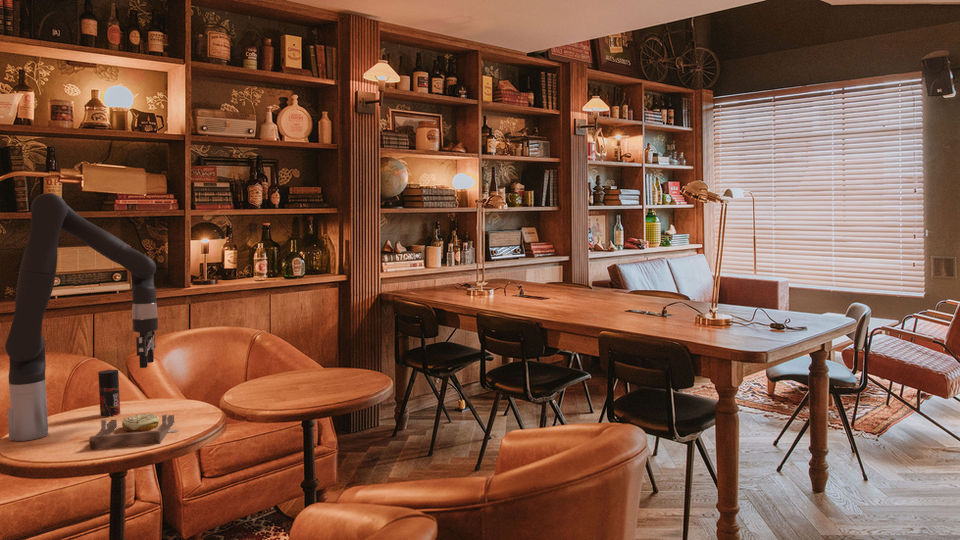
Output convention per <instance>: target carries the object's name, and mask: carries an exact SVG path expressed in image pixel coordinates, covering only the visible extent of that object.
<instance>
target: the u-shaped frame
mask: <svg viewBox="0 0 960 540" xmlns="http://www.w3.org/2000/svg"><path fill="white" fill-rule="evenodd" d="M117 423H118V422H117V419H110V421H108V422H107V418H102V419H101V420H100V427H101V428H100V430H99V431H98V432H97V433H96V434H95V435H91V436H90V437H89V450H90V449H91V450H100V449H99V448H102V449H113V448H121V447H124V448H125V447H133V446H146V445H156V444H157V445H159V444H161V443H162V441H163V439H164V438H165V437H166V435H167V434H169V432H171V433H178V432H177V430H178V429H171V428H172V427H173V425H174V424H173V423H175V415H174V414H171V415H170V414H169V415H168V413H165V414H162V415H161V425H160V426H159V429H158V430H147V431H141V432H134V431H133V432H124V433H123V432H122V433H113V432H114V429H115V428H116V427H118V424H117ZM171 426H172V427H171ZM170 427H171V428H170ZM116 429H117V428H116ZM116 429H115V430H116Z"/></svg>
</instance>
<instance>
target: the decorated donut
mask: <svg viewBox="0 0 960 540" xmlns="http://www.w3.org/2000/svg"><path fill="white" fill-rule="evenodd" d="M159 423H160V418H159V416H158V415H156V414H153V413H152V414H151V413H141V414H139V413H138V414H135V415H132V416H128V417H125V418H123V420H121V425H122V428H123V430H125V431H127V432H130V433H133V432H134V431H141V432H146V431H145V430H147V431H152V430H153V428H154V429H155V428H157V427H158V426H159ZM151 429H152V430H151ZM132 431H133V432H132Z"/></svg>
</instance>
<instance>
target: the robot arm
mask: <svg viewBox="0 0 960 540" xmlns="http://www.w3.org/2000/svg"><path fill="white" fill-rule="evenodd" d="M30 211H31V217H30V218H31V219H30V230H29V236H28V241H27V244H26V246H25V250H24V252H23V255H22V259H21V263H20V267H19V272H18V277H17V284H16V290H15V291H16V292H15V293H16V294H15V303H14V314H13V319H12V322H11V325H10V329H9V333H8V335H7V338H6V340H5V344H4V347H5V352H6V354H7V356H8V358H9V361H8V362H9V369H8V388H9V389H8V392H9V407H10V408H8V409H7V423H8V424H7V425H8V438H9V439H8V440H9V441H15V442H17V441H18V442H22V441H23V442H24V441H31V440H37V439H40V438H44V437H46V436H48V435H49V423H48V422H49V421H48V405H47V403H48V402H47V401H48V400H47V387H46V386H47V383H46V369H47V367H46V344H45V342H46V341H45V338H44V336H43V335H42V330H43V328H42V327H43V321H44V316H45V312H46V310H47V307H48V304H49V302H50V299H51V295H52V293H53V291H54V290H53V289H54V285H55V280H56V275H57V266H58V248H59V247H58V245H59V244H58V243H59V239H60V234H61V230H63V231H64V232H67V233H68V234H70V235H72V236H73V237H75V238H77V239H78V240H79V241H82V242H83V244H85V245H86V246H88V247H89V248H91V249H92V250H94V251H96V252H97V253H98V254H100V255H102V256H103V257H105V258H106V259H108V260H110V261H111V262H114V263H116V264H118V265H120V266H122V267H123V268H125V269H126V270H128V272H130V278H131V279H130V280H131V286H132V289H131V291H132V292H131V296H132V298H131V299H132V307H131V308H132V309H131V318H132V320H131V321H132V331H133V332H134V333H139V336H138V337H137V336H136V339H135V340H136V341H135V342H136V356H137V357H138V359H139V360H138V361H139V368H140V369H146V368H148V365H149V364H151V363H154V361H155V360H154V359H155V358H154V357H155V356H154V351H155V349H156V331H158V329H159V317H158V315H159V314H158V305H157V291H156V287H155V280H154V279H155V278H154V276H155V275H154V274H156V271H157V265H156V263H155V262H156V261H154V259H152V258H151V257H149V256H147V255H145V254H143V253H142V252H141V251H139V250H137V249H134V248H132V246H130V245H129V244H128V243H126V242H124V241H123V240H122V239H120V238H119V237H117V236H115V235H113V234H112V233H110V232H109V231H107V230H105V229H103V228H101V227H99V226H97V225H96V224H94V223H92V222H90V221H89V220H87V219H86V218H84V216H82V215H80V214H79V213H77V211H75V210H73V208H71V207H70V206H69V205H68V204H67V202H66V201H65V200H64V199H63V198H62V197H61V196H60V195H57V194H55V193H50V192H47V193H46V192H45V193H41V194H40V195H38V196H36V197H35V198H34V199H33V200H32V202H31V206H30Z"/></svg>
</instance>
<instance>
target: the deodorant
mask: <svg viewBox="0 0 960 540" xmlns="http://www.w3.org/2000/svg"><path fill="white" fill-rule="evenodd" d="M97 373H98V391H99V413H100V414H99V415H101V416H111V417H115V416H114V415H116V416H119V415H120V414H121V404H120V403H121V402H120V379H119V369H106V370H100V371H98V372H97ZM118 414H119V415H118ZM101 416H100V417H101Z"/></svg>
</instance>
